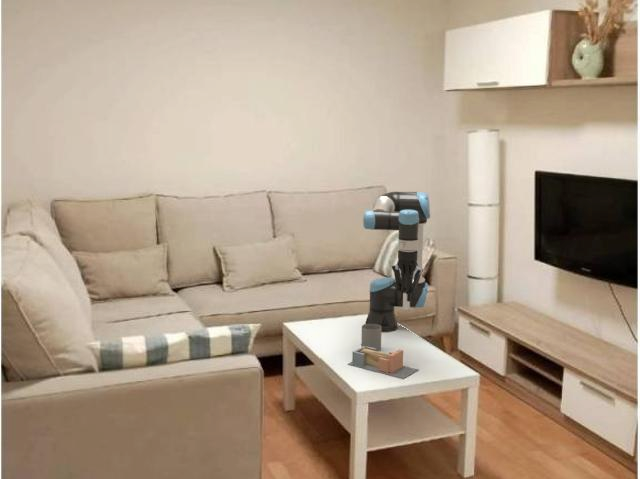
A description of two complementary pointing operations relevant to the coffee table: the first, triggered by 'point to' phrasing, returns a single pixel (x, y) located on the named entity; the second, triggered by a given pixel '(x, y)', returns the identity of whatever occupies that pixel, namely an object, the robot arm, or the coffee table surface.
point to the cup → (371, 336)
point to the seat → (359, 361)
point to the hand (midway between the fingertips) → (406, 308)
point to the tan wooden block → (373, 357)
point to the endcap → (391, 362)
